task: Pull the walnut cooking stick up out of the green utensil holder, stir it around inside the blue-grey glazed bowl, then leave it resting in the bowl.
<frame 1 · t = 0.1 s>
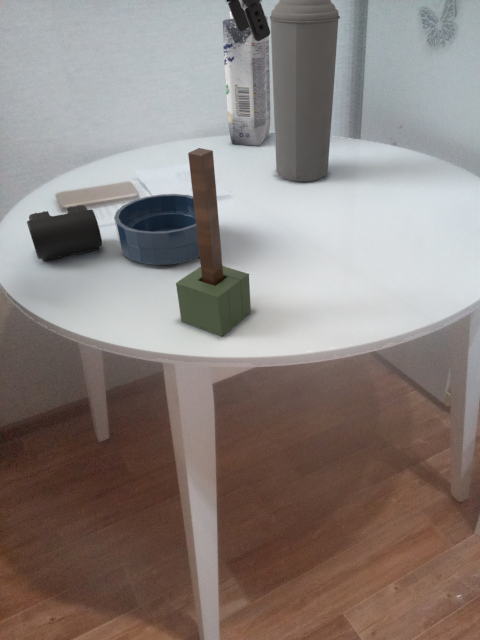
hand: (254, 33, 76), 30 cm above the table, tool tilted 20°, fingers open, 8 cm apart
bowl: (169, 246, 93), on the table
canister: (302, 174, 119), on the table
holder: (216, 316, 76), on the table
juice carton: (250, 141, 138), on the table
cooking stick: (216, 317, 76), resting in holder
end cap: (70, 254, 91), on the table
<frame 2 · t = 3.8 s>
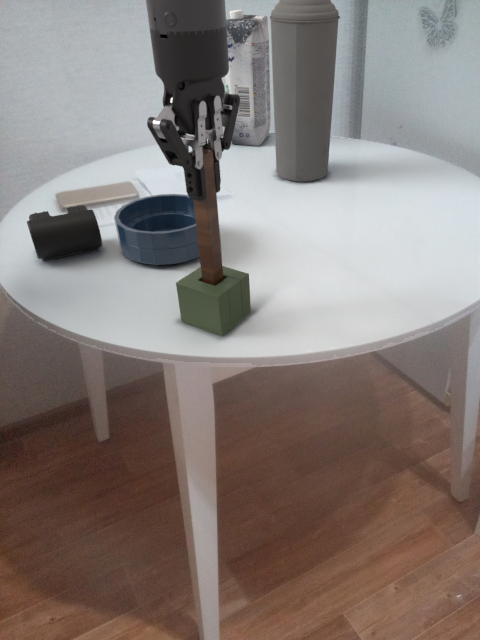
hand: (204, 194, 65), 17 cm above the table, tool pointing down, fingers closed on cooking stick, 2 cm apart
cooking stick: (216, 317, 76), resting in holder, touching gripper
everything else where it was.
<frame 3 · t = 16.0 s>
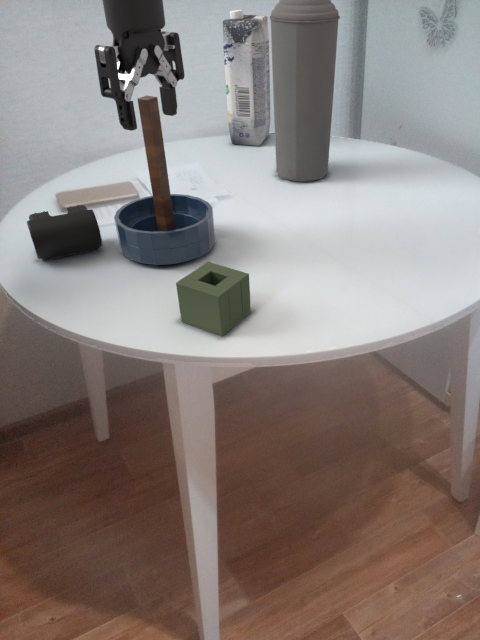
hand: (150, 121, 80), 20 cm above the table, tool pointing down, fingers open, 8 cm apart
cooking stick: (168, 242, 92), point 1 cm above the table, touching bowl
everything else where it was.
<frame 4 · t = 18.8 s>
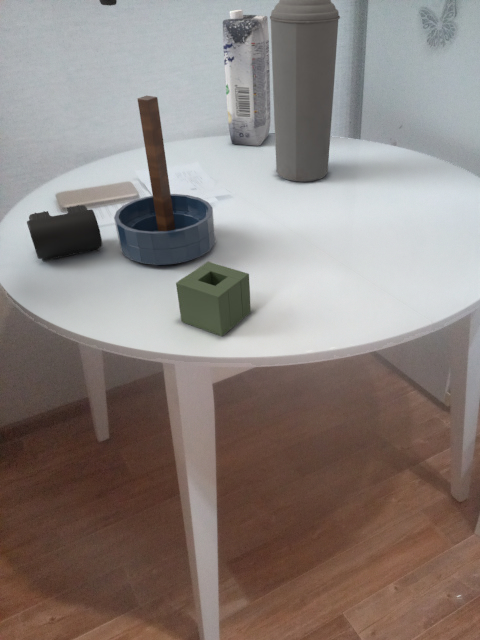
hand: (132, 1, 71), 34 cm above the table, tool pointing down, fingers open, 8 cm apart
nothing on the table moved.
at the end: cooking stick inside the target area in the bowl (0.0 cm from its centre), point 0.8 cm above the bowl's base; cooking stick moved 23.5 cm from its start; the gripper is holding nothing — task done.
